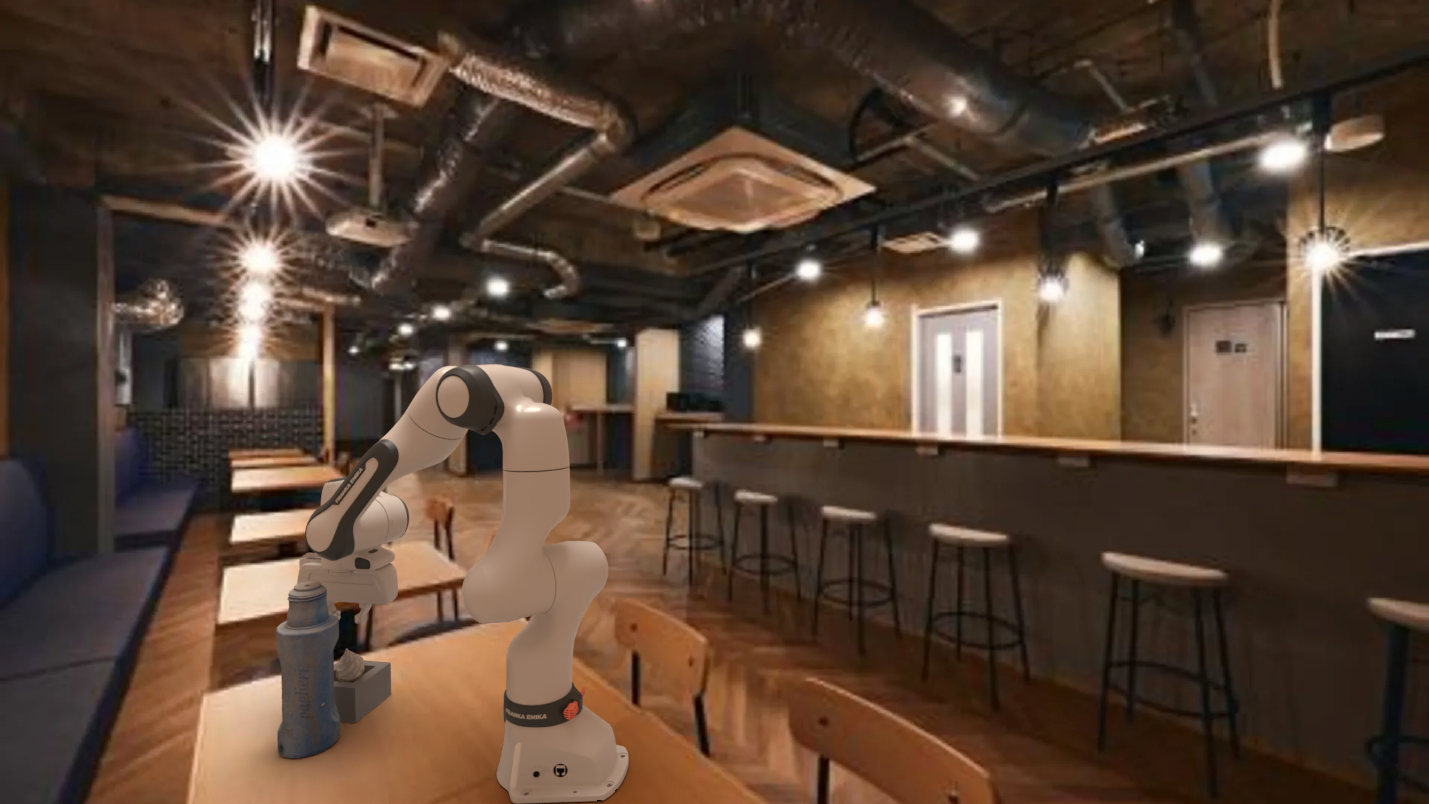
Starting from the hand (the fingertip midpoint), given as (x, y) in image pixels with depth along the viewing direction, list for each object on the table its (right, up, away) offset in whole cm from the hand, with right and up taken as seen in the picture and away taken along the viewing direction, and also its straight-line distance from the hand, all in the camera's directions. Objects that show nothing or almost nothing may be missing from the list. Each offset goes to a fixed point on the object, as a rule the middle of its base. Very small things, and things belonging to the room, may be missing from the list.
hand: (347, 621), depth 130 cm
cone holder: (0, -18, +1) cm, 18 cm away
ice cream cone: (0, -17, +3) cm, 17 cm away
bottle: (0, -19, -12) cm, 22 cm away
